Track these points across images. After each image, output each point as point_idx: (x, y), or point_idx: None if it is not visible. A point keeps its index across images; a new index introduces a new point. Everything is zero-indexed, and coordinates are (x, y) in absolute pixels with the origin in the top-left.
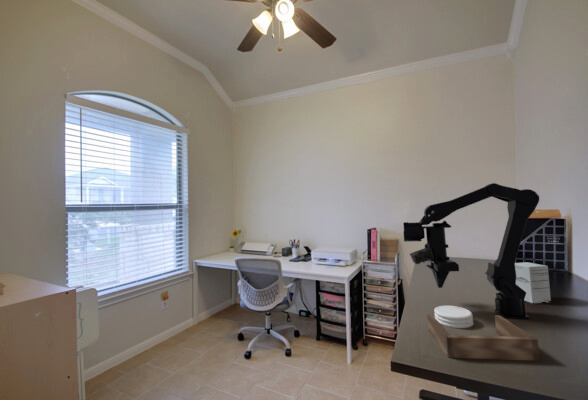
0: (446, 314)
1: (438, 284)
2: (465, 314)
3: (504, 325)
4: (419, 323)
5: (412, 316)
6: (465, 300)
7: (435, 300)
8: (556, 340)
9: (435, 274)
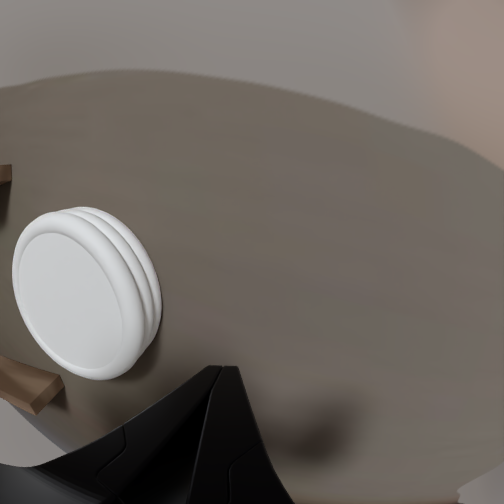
0: (16, 257)
1: (184, 386)
2: (44, 339)
3: (9, 385)
4: (54, 131)
5: (124, 97)
6: (401, 423)
7: (430, 296)
8: (78, 448)
9: (103, 469)
